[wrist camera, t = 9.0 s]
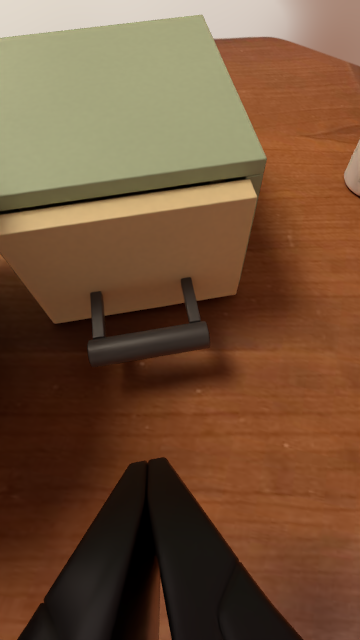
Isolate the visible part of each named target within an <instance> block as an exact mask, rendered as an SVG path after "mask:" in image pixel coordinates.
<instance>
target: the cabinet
mask: <svg viewBox="0 0 360 640" xmlns="http://www.w3.org/2000/svg"><path fill="white" fill-rule="evenodd" d="M266 160H267V158H266V156H265V153H264V151H263V149H262V147H261V144H260V142H259V140H258V138H257V135H256V133H255V131H254V129H253V127H252V124H251V122H250V120H249V118H248V115H247V113H246V111H245V109H244V106H243V104H242V102H241V100H240V98H239V95H238V93H237V91H236V89H235V86H234V84H233V82H232V80H231V77H230V75H229V73H228V71H227V68H226V66H225V64H224V62H223V60H222V57H221V55H220V53H219V51H218V48H217V46H216V44H215V42H214V39H213V37H212V35H211V33H210V31H209V28H208V26H207V24H206V22H205V19H204V17H203V15H195V16H186V17H178V18H169V19H161V20H152V21H143V22H135V23H126V24H117V25H108V26H100V27H91V28H84V29H83V28H82V29H74V30H65V31H56V32H48V33H39V34H30V35H22V36H13V37H4V38H0V215H2V214H9V213H15V212H20V210H19V208H26V207H33V206H40V205H47V204H54V203H61V202H68V201H75V200H82V199H89V198H96V197H103V196H110V195H117V194H124V193H131V192H138V191H145V190H152V189H159V188H166V187H173V186H180V185H187V184H194V183H201V182H208V181H215V180H222V179H226V182H231V181H238V180H245V179H250V180H251V183H252V185H253V188H254V190H255V193H256V195H257V200H256V205H257V201H258V196H259V192H260V187H261V183H262V178H263V173H264V169H265V164H266ZM256 205H255V210H256ZM255 210H254V214H253V219H254V215H255ZM253 219H252V223H251V228H252V224H253ZM251 228H250V233H251ZM250 233H249V237H250ZM249 237H248V242H249ZM248 242H247V246H248ZM247 246H246V251H247ZM246 251H245V255H246ZM244 260H245V256H244ZM244 260H243V264H244ZM242 269H243V265H242ZM242 269H241V273H242ZM240 278H241V274H240ZM239 282H240V279H239ZM238 285H239V283H238Z"/></svg>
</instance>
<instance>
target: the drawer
mask: <svg viewBox="0 0 360 640" xmlns="http://www.w3.org/2000/svg"><path fill="white" fill-rule="evenodd" d="M256 200H257V195H256V193H255V190H254V188H253V185H252V183H251V180H250V179H245V180H238V181H231V182H226V179H222V180H215V181H208V182H201V183H194V184H187V185H180V186H173V187H166V188H159V189H152V190H145V191H138V192H131V193H124V194H117V195H110V196H103V197H96V198H89V199H82V200H75V201H68V202H61V203H54V204H47V205H40V206H33V207H26V208H19V210H20V212H15V213H9V214H2V215H0V254H1V255H2V256H3V257H4V259H5V260H6V261H7V263H8V264H9V265H10V267H11V268H12V269H13V271H14V272H15V273H16V274H17V276H18V277H19V278H20V280H21V281H22V282H23V284H24V285H25V286H26V288H27V289H28V290H29V291H30V293H31V294H32V295H33V297H34V298H35V299H36V301H37V302H38V303H39V305H40V306H41V307H42V308H43V310H44V311H45V312H46V314H47V315H48V316H49V318H50V319H51V320H52V322H53V323H54V324H57V323H63V322H69V321H76V320H82V319H88V318H92V336H93V340H89V341H88V345H87V351H88V358H89V361H90V364H91V366H92V367H100V366H106V365H112V364H118V363H123V362H129V361H135V360H141V359H147V358H153V357H159V356H164V355H170V354H176V353H182V352H188V351H194V350H200V349H205V348H209V347H210V336H209V331H208V327H207V324H206V322H205V321H201V318H200V314H199V309H198V305H197V301H199V300H205V299H211V298H217V297H223V296H229V295H235V294H236V292H237V288H238V283H239V279H240V274H241V269H242V265H243V260H244V256H245V251H246V246H247V242H248V237H249V233H250V228H251V223H252V219H253V214H254V210H255V205H256ZM180 303H185V307H186V311H187V316H188V321H189V324H183V325H177V326H171V327H165V328H159V329H153V330H147V331H141V332H135V333H129V334H123V335H117V336H111V337H106V327H105V316H106V315H112V314H119V313H125V312H131V311H137V310H143V309H149V308H156V307H162V306H168V305H174V304H180Z"/></svg>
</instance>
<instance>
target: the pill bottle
mask: <svg viewBox="0 0 360 640" xmlns="http://www.w3.org/2000/svg"><path fill="white" fill-rule="evenodd" d="M344 180H345V183H346V185H347V186H348V187H349V189H350V190H351V191H353V192H354V193H355V194H357V195H359V196H360V140H359V142H358V145H357V147H356V149H355V151H354V153H353V155H352V157H351V160H350V162H349V164H348V166H347V168H346V171H345V174H344Z"/></svg>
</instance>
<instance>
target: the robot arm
mask: <svg viewBox="0 0 360 640" xmlns="http://www.w3.org/2000/svg"><path fill="white" fill-rule="evenodd" d="M160 577H161V583H162V588H163V594H164V599H165V605H166V610H167V616H168V621H169V627H170V632H171V638H172V640H303V639H302V637H301V636H300V635H299V634H298V633H297V632H296V631H295V630H294V628H293V627H292V626H291V625H290V624H289V623H288V622H287V620H286V619H285V618H284V617H283V616H282V615H281V613H280V612H279V611H278V610H277V609H276V608H275V607H274V605H273V604H272V603H271V602H270V600H269V599H268V598H267V596H266V595H265V594H264V593H263V591H262V590H261V589H260V587H259V586H258V585H257V583H256V582H255V581H254V580H253V578H252V577H251V575H250V574H249V573H248V571H247V570H246V568H245V567H244V566H243V564H242V563H241V562H239V559H238V558H237V556H236V555H235V553H234V552H233V551H232V549H231V548H230V547H229V545H228V544H227V542H226V541H225V540H224V538H223V537H222V535H221V534H220V533H219V531H218V530H217V528H216V527H215V526H214V524H213V523H212V521H211V520H210V519H209V517H208V516H207V514H206V513H205V512H204V510H203V509H202V508H201V506H200V505H199V503H198V502H197V501H196V499H195V498H194V496H193V495H192V494H191V492H190V491H189V489H188V488H187V487H186V485H185V484H184V482H183V481H182V480H181V478H180V477H179V475H178V474H177V473H176V471H175V470H174V469H173V467H172V466H171V464H170V463H169V462H168V460H167V459H166V458H165V457H161V458H156V459H151V460H149V461H148V462H147V461H140V462H135V463H131V464H130V465H129V466H128V467H127V469H126V470H125V472H124V474H123V475H122V477H121V478H120V480H119V481H118V483H117V485H116V486H115V488H114V489H113V491H112V492H111V494H110V496H109V497H108V499H107V500H106V502H105V503H104V505H103V507H102V508H101V510H100V511H99V513H98V514H97V516H96V518H95V519H94V521H93V522H92V524H91V525H90V527H89V529H88V530H87V532H86V533H85V535H84V536H83V538H82V540H81V541H80V543H79V544H78V546H77V547H76V549H75V551H74V552H73V554H72V555H71V557H70V558H69V560H68V562H67V563H66V565H65V566H64V568H63V569H62V571H61V573H60V574H59V576H58V577H57V579H56V580H55V582H54V584H53V585H52V587H51V588H50V590H49V591H48V593H47V595H46V596H45V598H44V603H41V604H40V605H39V607H38V608H37V610H36V611H35V613H34V615H33V616H32V618H31V619H30V621H29V622H28V624H27V626H26V627H25V629H24V630H23V632H22V633H21V635H20V636H19V638H18V639H17V640H159V610H160Z"/></svg>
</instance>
